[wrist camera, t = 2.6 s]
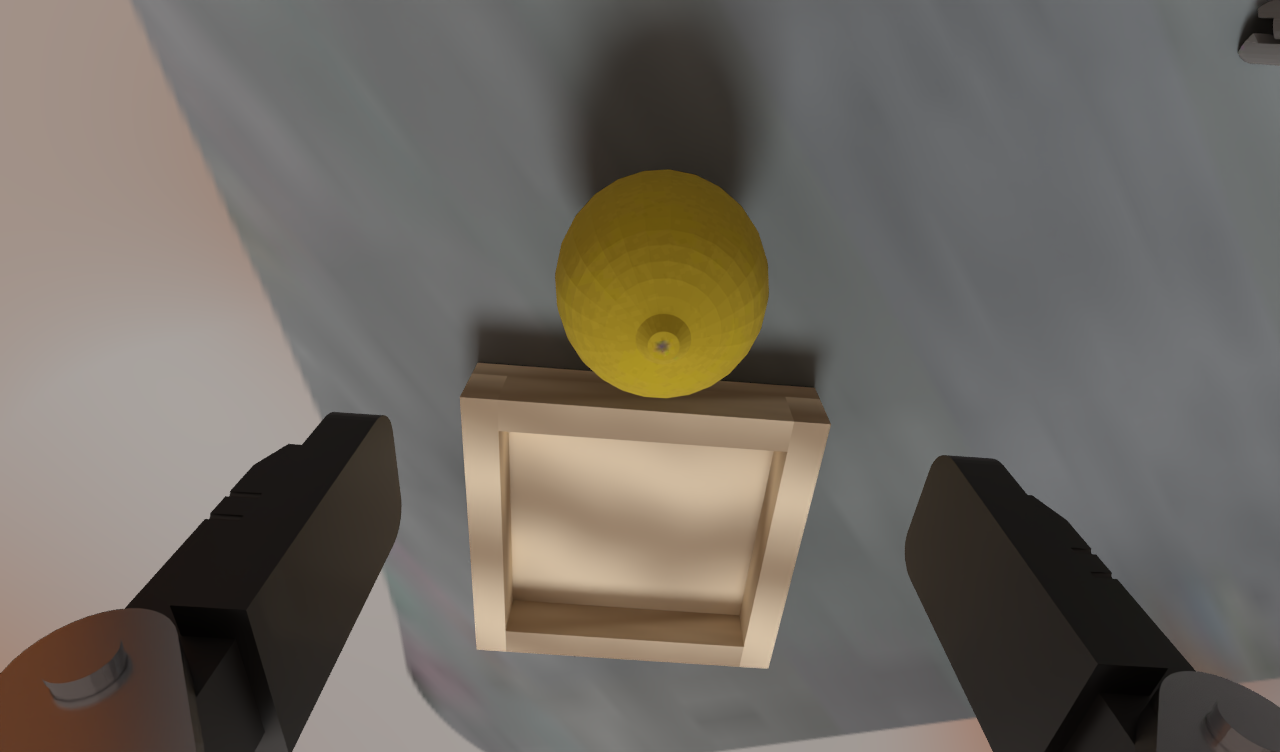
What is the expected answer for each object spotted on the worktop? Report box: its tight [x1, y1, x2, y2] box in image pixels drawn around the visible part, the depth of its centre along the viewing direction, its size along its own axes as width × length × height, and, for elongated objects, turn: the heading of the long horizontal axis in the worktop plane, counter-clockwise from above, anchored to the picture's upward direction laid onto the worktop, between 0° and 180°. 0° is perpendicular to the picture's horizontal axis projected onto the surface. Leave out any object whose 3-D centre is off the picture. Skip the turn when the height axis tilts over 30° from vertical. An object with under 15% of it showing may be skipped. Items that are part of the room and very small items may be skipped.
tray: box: [460, 363, 831, 669], centre depth 25 cm, size 12×12×2 cm
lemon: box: [555, 169, 769, 398], centre depth 17 cm, size 6×6×8 cm
